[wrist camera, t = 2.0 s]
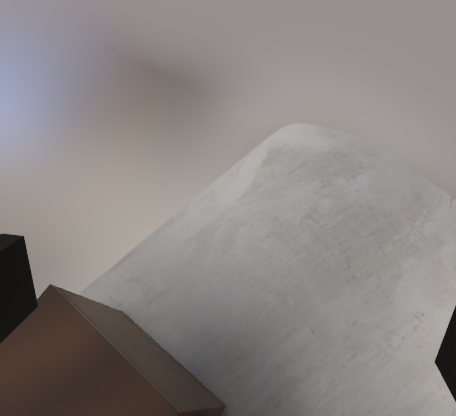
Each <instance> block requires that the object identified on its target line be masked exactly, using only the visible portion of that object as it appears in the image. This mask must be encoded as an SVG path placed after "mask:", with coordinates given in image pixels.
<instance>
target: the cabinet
mask: <svg viewBox="0 0 456 416" xmlns="http://www.w3.org/2000/svg"><path fill="white" fill-rule="evenodd" d="M37 304H38V307H37V308H36V309H35V310H34V311H33V312H32V313H31V314H30V315H29V316H28V317H27V318H26V319H25V320H24V321H23V322H22V323H21V324H20V325H19V326H18V327H17V328H16V329H15V330H14V331H13V332H12V333H11V334H10V335H9V336H8V337H7V338H6V339H4V340H3V341H2V342H1V343H0V416H220V415H221V414H222V412H223V410H224V409H225V407H226V405H225V404H224V403H223V402H222V401H220V400H219V399H218V398H217V397H216V396H215V395H214V394H213V393H212V392H210V391H209V390H208V389H207V388H206V387H205V386H204V385H203V384H202V383H201V382H199V381H198V380H197V379H196V378H195V377H194V376H193V375H192V374H191V373H189V372H188V371H187V370H186V369H185V368H184V367H183V366H182V365H181V364H179V363H178V362H177V361H176V360H175V359H174V358H173V357H172V356H171V355H170V354H168V353H167V352H166V351H165V350H164V349H163V348H162V347H161V346H160V345H158V344H157V343H156V342H155V341H154V340H153V339H152V338H151V337H150V336H149V335H147V334H146V333H145V332H144V331H143V330H142V329H141V328H140V327H139V326H137V325H136V324H135V323H134V322H133V321H132V320H131V319H130V318H129V317H128V316H126V315H125V314H124V313H123V312H122V311H119V310H117V309H114V308H111V307H109V306H106V305H103V304H101V303H98V302H96V301H93V300H90V299H88V298H85V297H82V296H80V295H77V294H75V293H72V292H69V291H66V290H64V289H62V288H59V287H56V286H53V285H51V284H50V285H49V286H48V287H47V289H46V290H45V291H44V292H43V293H42V294H41V296H40V297H39V298H38V299H37Z"/></svg>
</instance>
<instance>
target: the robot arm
mask: <svg viewBox="0 0 456 416" xmlns="http://www.w3.org/2000/svg"><path fill="white" fill-rule="evenodd" d="M37 307H38V304H37V299H36V294H35V289H34V284H33V279H32V274H31V269H30V264H29V259H28V255H27V249H26V245H25V240H24V236H17V235H9V234H0V343H1V342H2V341H3V340H4V339H6V338H7V337H8V336H9V335H10V334H11V333H12V332H13V331H14V330H15V329H16V328H17V327H18V326H19V325H20V324H21V323H22V322H23V321H24V320H25V319H26V318H27V317H28V316H29V315H30V314H31V313H32V312H33V311H34V310H35V309H36V308H37ZM435 364H436V365H437V367H438V369H439V371H440V373H441V375H442V377H443V379H444V380H445V382H446V384H447V386H448V388H449V390H450V392H451V394H452V395H453V397H454V399H455V401H456V306H455V309H454V312H453V314H452V317H451V320H450V322H449V325H448V328H447V330H446V333H445V336H444V338H443V341H442V344H441V346H440V349H439V352H438V354H437V357H436V359H435Z"/></svg>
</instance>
